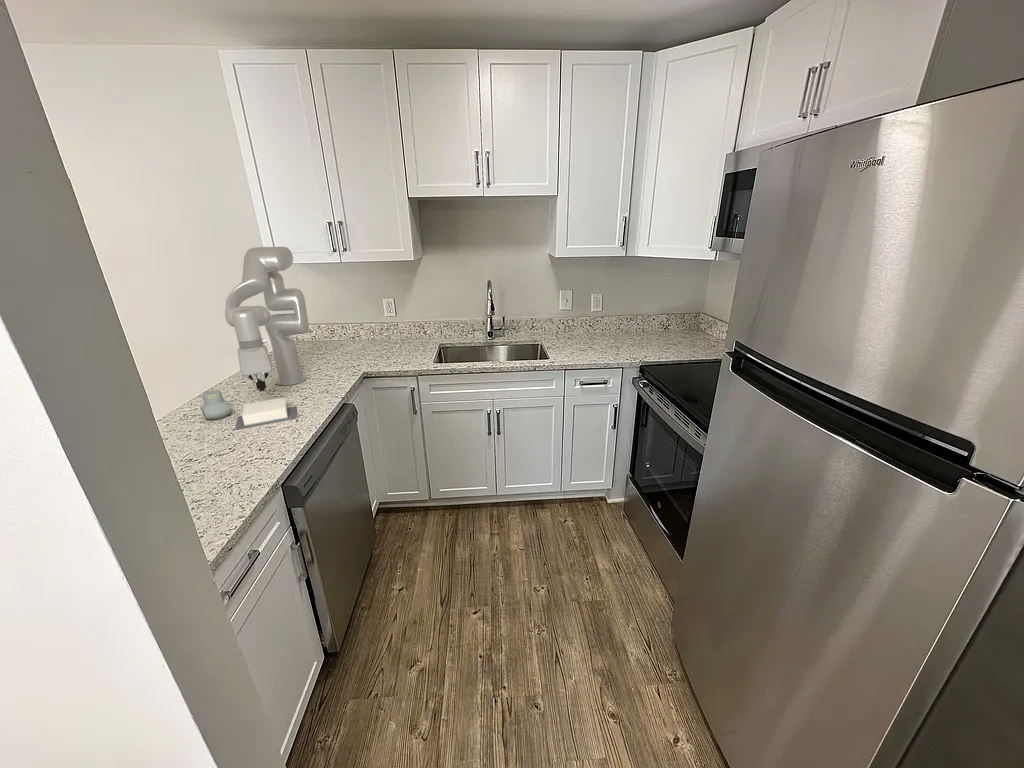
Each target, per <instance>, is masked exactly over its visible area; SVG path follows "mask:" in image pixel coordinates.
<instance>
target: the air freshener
mask: <svg viewBox="0 0 1024 768" xmlns="http://www.w3.org/2000/svg"><path fill="white" fill-rule="evenodd" d="M201 396H202V399H203V405H201V407H200V410H201V412H202V414H203V417H204V418H205V419H206V420H209V421H210V420H213V421H214V420H218V419H222V418H225V417H227V416H229V415H230V414H231V413H232V407H231V404H230V403H229V401H228V400H226V399H223V398H224V397H223V394H222V391H221V390H218V389H214V390H213V389H212V390H208V391H205V392H203V393H202V395H201Z"/></svg>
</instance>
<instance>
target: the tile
mask: <svg viewBox="0 0 1024 768" xmlns="http://www.w3.org/2000/svg"><path fill="white" fill-rule="evenodd" d="M288 408H289V407H288V402H287V398H286V397H280V398H274V399H267V400H263V401H262V400H260V401H256V402H250V403H245V404H244V407H243V410H242V415H241V416H242V417H243V421H244V425H245V426H247V425H253V424H258V423H263V422H269V421H274V420H279V419H285V418H288Z"/></svg>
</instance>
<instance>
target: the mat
mask: <svg viewBox="0 0 1024 768" xmlns="http://www.w3.org/2000/svg"><path fill="white" fill-rule="evenodd" d="M296 412H297V406H296V405H294V406H289V407H288V418H285V419H279V420H274V421H269V422H263V423H258V424H253V425H247V426H245V425H244V421H243V417H242V415H240V416H239V415H238V416H237V418H236V424H235V427H234V429H235V431H240V430H243V429H248V428H254V427H258V426H263V425H269V424H274V422H275V423H279V421H281V422H285V421H284V420H286V421H290V420H289V419H291V420H295V418H297V419H298V414H297V413H298V412H297V413H296Z"/></svg>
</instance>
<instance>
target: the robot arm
mask: <svg viewBox="0 0 1024 768" xmlns="http://www.w3.org/2000/svg"><path fill="white" fill-rule="evenodd" d="M293 263H294V256H293V252H292V251H291V249H290V248H288V247H287V246H260V247H251V248H249V249H247V250H246V253H245V254H244V257H243V266H242V276H241V277H242V278H241V282H240V283H238V284H237V285H236V286H235V287H234V288H233V289H232V290H231V292H229V294H228V296H226V297H227V298H226V300H225V310H224V315H225V316H224V317H225V321H226V323H227V324H228V325H229V326H231V327H233V328H234V331H235V336H236V339H237V343H238V346H239V347H238V348H237V355H238V363H239V364H238V365H239V368H240V372H241V378H242V379H249V380H251V381H253V382H255V385H256V389H257V390H258V391H259V393H261V392H265V391H266V389H267V384H266V380H267V378H268V377H269V376H271V375H274V374H275V370H274V368H273V362H272V359H271V356H270V355H271V354H270V353H269V350H268V347H267V345H265V344H267V343H268V340H267V339H266V338H265V339H264V338H263V337H262V334H261V330H260V327H263V326H264V328H265V330H266V333H267V335H268V337H269V340H270V344H271V348H272V352H273V357H274V362H275V366H276V370H277V374H278V378H277V379H276V381H275V382H276V384H277V386H278V385H279V386H293V385H298V384H300V383H303V382H305V381H306V379H307V377H306V375H304V374H302V370H301V364H300V360H299V356H298V355H299V354H298V349H297V346H296V342H295V341H294V340H293V338H292V337H291V336H292V335H293V336H294V335H297V336H298V335H305V334H307V333H308V331H309V329H310V327H309V326H310V325H309V323H310V322H309V318H308V311H307V305H306V304H307V303H306V300H305V295H304V293H303V291H302V290H301V289H299V288H295V287H293V288H285V283H284V278H283V275H282V274H281V273H280V272H283V271H286V270H288V269H289V268H291V267H292V266H293ZM262 293H263V298H264V303H265V304H264V305H265V306H264V305H263V306H262V305H248V306H247V305H245V306H244V305H243V306H241V305H242V304H243V302H244V301H246V300H248V299H249V298H253V297H255V296H257V295H258V294H262ZM270 311H273V312H282V311H283V312H285V311H293V312H294V313H275V314H271V313H270ZM258 375H260V379H259V377H258Z"/></svg>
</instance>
